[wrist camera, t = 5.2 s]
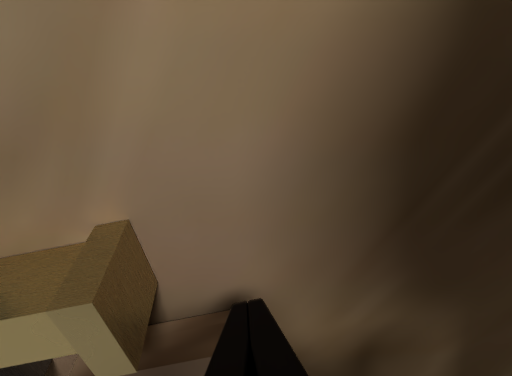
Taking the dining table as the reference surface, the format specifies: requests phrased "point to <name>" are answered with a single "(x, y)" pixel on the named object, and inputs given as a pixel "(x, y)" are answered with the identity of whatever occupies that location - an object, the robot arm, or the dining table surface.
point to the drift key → (78, 302)
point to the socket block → (27, 369)
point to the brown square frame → (174, 347)
